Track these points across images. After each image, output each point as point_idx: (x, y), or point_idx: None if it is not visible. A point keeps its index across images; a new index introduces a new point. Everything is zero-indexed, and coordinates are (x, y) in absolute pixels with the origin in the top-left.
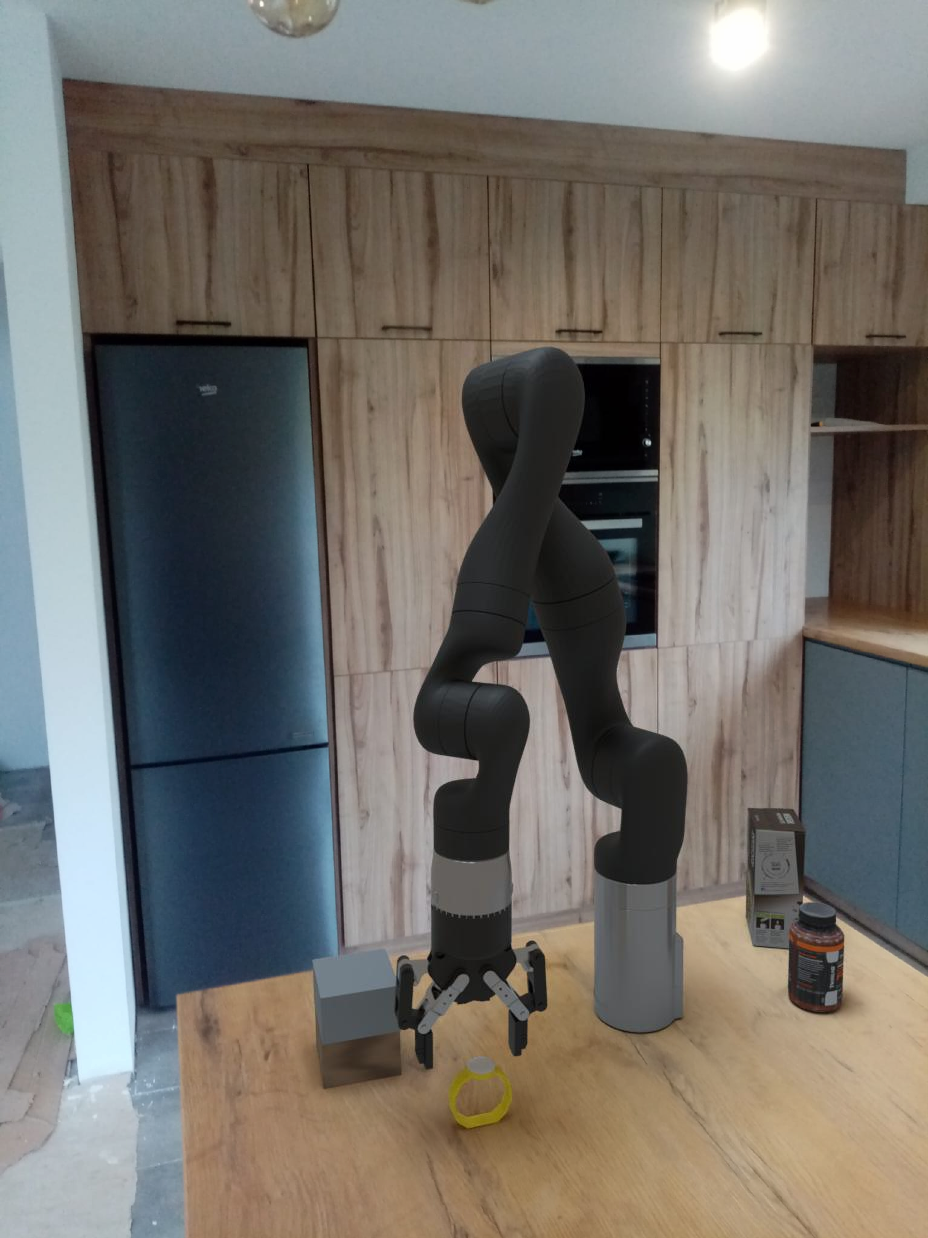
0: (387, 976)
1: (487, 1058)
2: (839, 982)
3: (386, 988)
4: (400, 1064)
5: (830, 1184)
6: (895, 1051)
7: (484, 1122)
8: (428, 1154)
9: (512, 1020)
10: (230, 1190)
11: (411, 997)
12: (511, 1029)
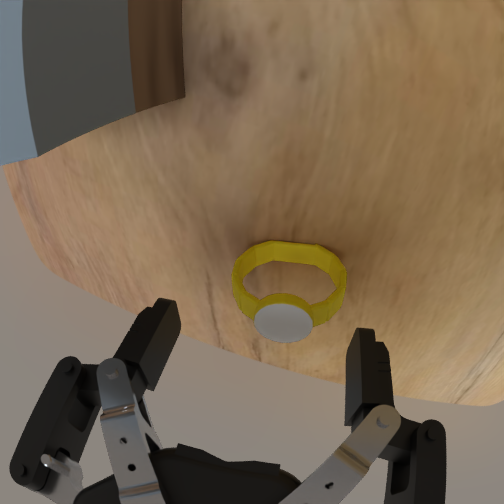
0: (8, 91)
1: (305, 313)
2: None
3: (16, 160)
4: (174, 99)
5: (496, 386)
6: None
7: (296, 262)
8: (208, 274)
9: (350, 411)
10: (44, 243)
11: (81, 449)
12: (352, 384)
